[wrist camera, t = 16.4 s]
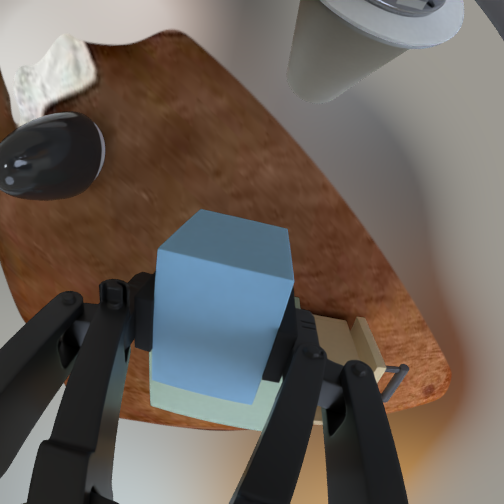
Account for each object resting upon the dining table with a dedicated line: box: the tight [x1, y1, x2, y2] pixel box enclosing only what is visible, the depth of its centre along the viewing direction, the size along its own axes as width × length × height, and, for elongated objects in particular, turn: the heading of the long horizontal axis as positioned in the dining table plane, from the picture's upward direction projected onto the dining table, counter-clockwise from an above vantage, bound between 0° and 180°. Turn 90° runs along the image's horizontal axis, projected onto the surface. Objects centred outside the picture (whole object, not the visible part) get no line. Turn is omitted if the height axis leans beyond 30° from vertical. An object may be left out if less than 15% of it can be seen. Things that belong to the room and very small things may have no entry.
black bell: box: [0, 111, 105, 201], centre depth 24 cm, size 10×10×15 cm
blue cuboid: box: [152, 209, 294, 405], centre depth 14 cm, size 7×5×6 cm
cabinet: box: [149, 297, 301, 431], centre depth 33 cm, size 15×13×12 cm
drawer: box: [312, 314, 409, 425], centre depth 33 cm, size 20×11×10 cm, turn 78°
